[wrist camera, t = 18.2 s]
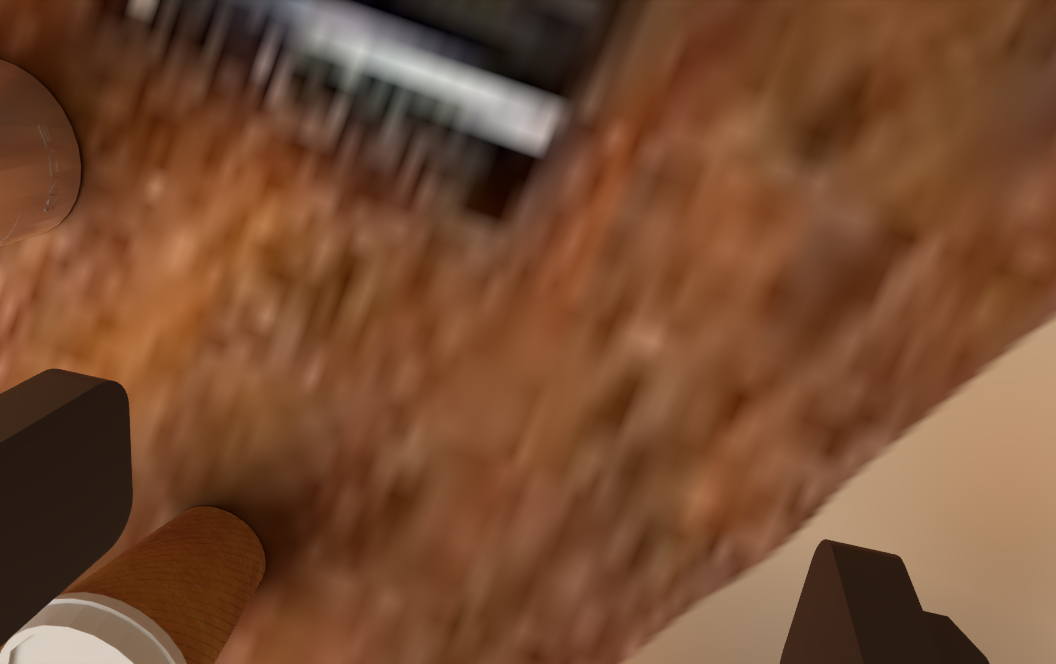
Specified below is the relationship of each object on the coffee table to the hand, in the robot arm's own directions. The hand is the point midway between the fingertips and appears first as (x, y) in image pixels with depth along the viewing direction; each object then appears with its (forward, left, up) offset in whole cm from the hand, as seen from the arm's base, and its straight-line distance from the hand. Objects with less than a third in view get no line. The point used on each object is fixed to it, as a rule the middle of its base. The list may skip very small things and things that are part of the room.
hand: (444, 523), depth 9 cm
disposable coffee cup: (-20, -27, -30) cm, 45 cm away
